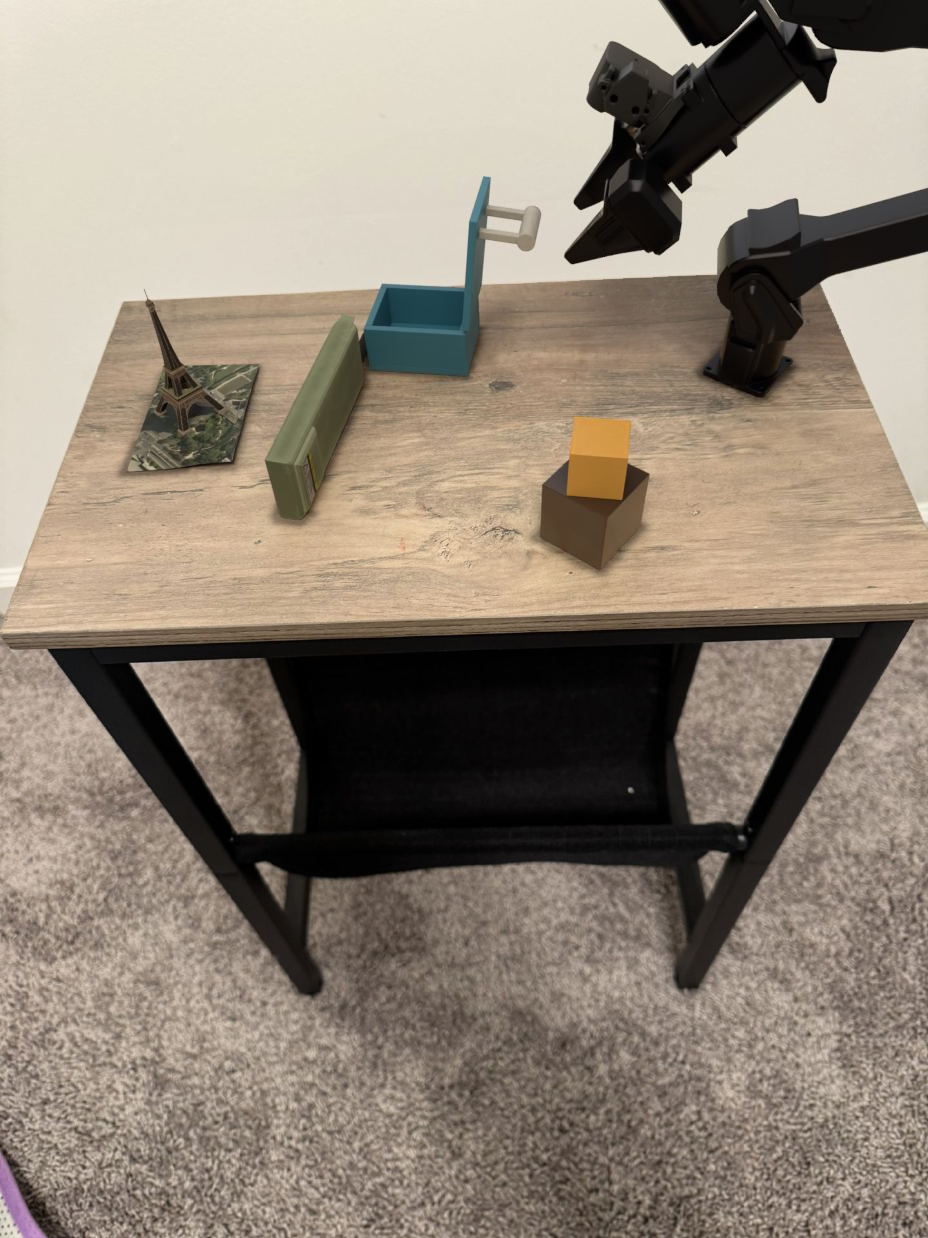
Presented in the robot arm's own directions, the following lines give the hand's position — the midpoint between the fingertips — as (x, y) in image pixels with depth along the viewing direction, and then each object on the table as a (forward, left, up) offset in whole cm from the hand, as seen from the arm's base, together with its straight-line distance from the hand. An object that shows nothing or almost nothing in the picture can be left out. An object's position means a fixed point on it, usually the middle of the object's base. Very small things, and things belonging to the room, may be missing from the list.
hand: (572, 231), depth 73 cm
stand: (+18, +15, -13) cm, 27 cm away
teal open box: (+7, -12, -13) cm, 19 cm away
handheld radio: (+21, -12, -13) cm, 28 cm away
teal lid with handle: (+5, -8, -3) cm, 9 cm away
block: (+18, +16, -7) cm, 25 cm away
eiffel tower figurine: (+28, -23, -13) cm, 39 cm away
